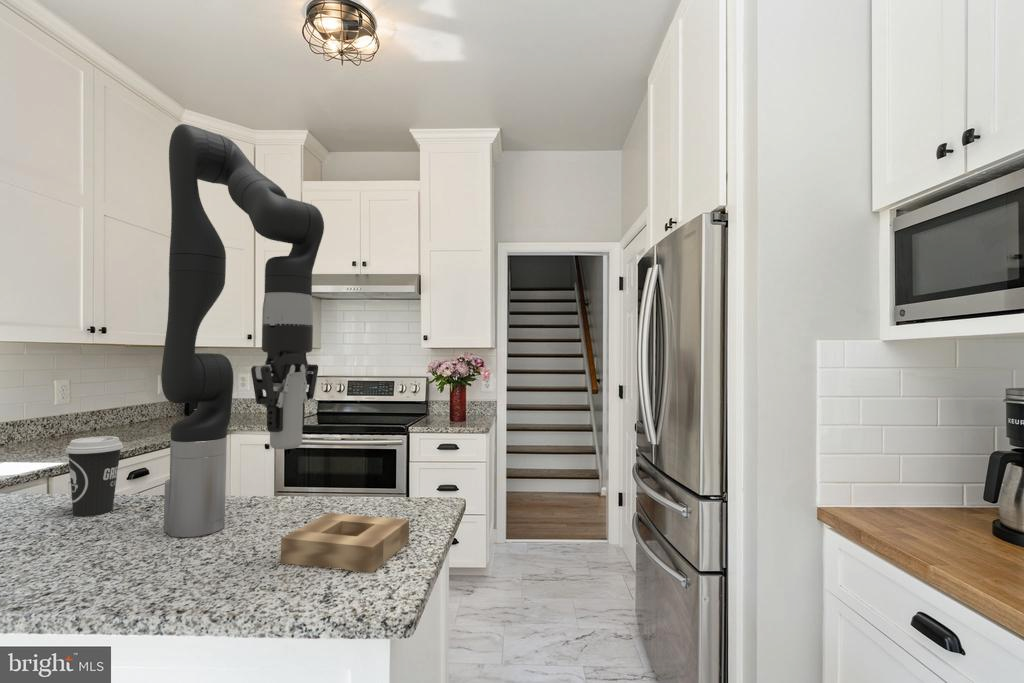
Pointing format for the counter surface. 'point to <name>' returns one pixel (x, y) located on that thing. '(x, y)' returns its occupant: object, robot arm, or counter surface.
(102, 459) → the coffee cup
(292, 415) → the beverage can
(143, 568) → the counter surface
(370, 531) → the socket
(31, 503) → the counter surface
